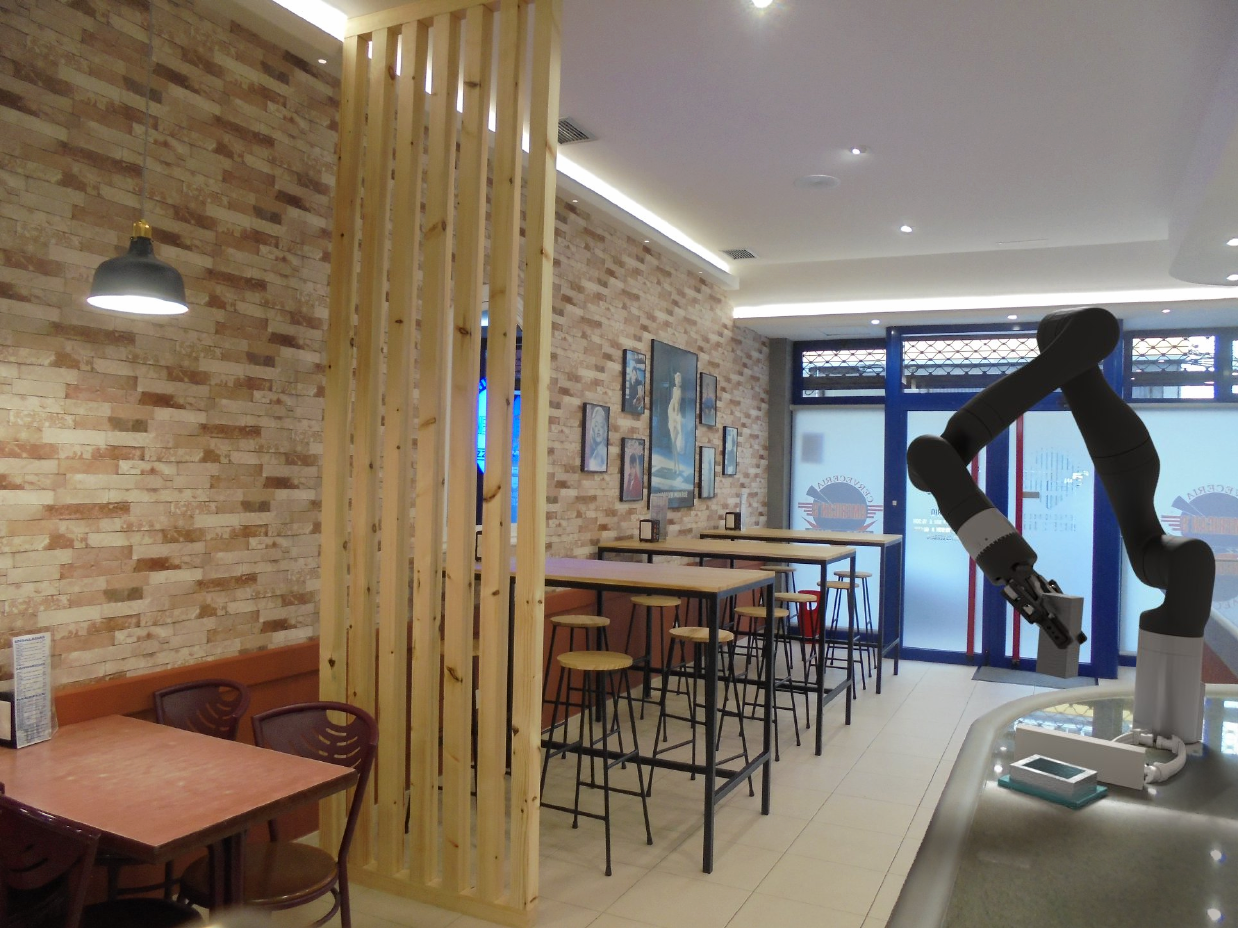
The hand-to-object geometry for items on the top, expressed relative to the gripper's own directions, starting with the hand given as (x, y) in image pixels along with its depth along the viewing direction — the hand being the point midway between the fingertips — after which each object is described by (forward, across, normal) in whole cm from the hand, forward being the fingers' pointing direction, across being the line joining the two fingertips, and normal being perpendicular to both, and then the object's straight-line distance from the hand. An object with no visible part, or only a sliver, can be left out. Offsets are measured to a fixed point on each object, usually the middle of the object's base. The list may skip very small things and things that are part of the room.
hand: (1074, 644), depth 123 cm
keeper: (+14, -6, +12) cm, 20 cm away
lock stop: (+2, 0, +5) cm, 5 cm away
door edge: (+13, +4, +13) cm, 19 cm away
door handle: (+16, +21, +11) cm, 28 cm away
